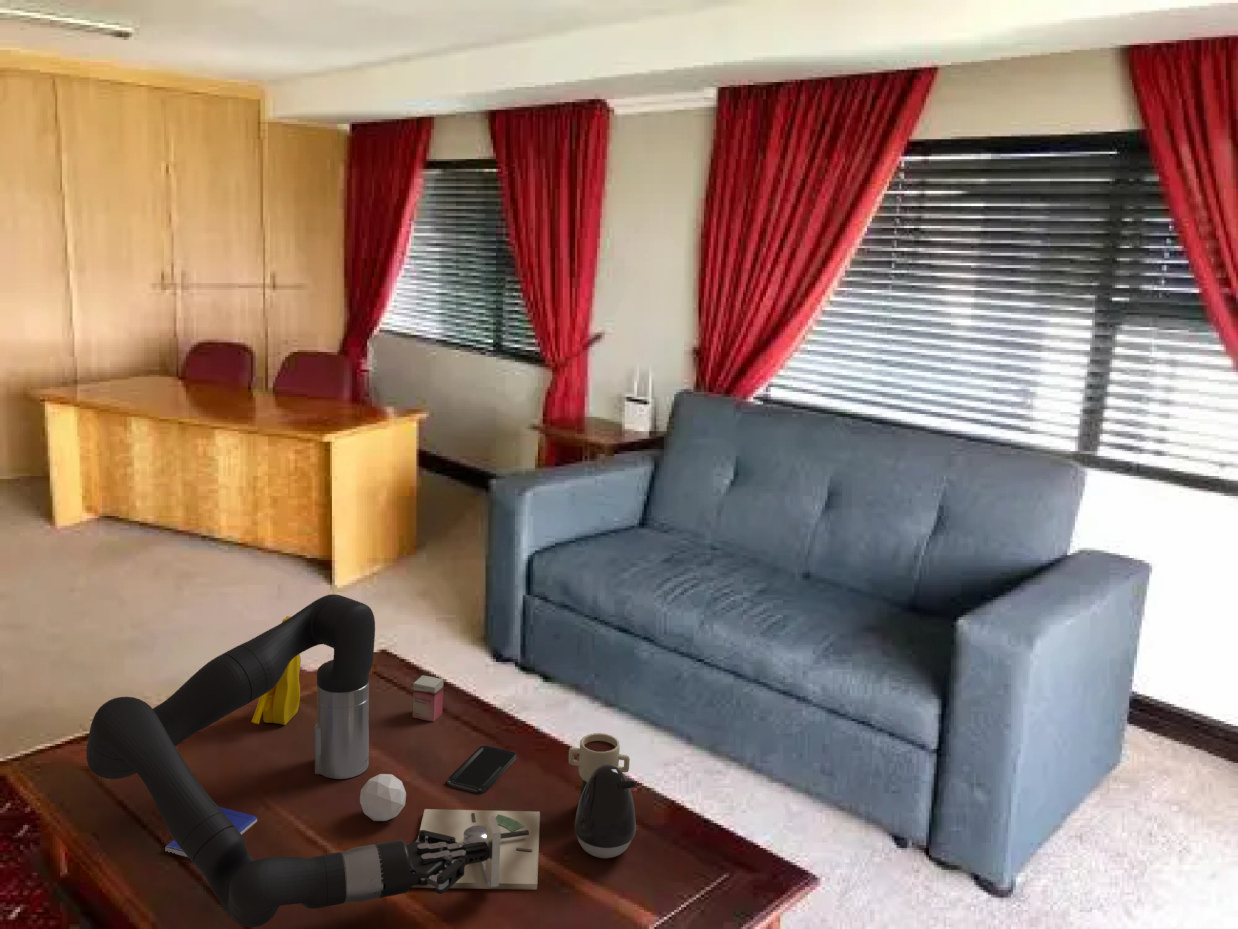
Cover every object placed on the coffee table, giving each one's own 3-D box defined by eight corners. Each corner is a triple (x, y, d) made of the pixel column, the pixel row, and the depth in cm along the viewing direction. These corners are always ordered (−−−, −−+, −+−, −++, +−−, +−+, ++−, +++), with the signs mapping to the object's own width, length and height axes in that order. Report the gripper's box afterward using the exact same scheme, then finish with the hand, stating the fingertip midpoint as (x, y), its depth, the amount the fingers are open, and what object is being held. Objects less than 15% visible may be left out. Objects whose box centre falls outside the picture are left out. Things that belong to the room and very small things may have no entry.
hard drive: (207, 857, 161) (257, 816, 173) (164, 845, 164) (216, 805, 175) (208, 866, 162) (257, 824, 173) (165, 854, 164) (216, 813, 176)
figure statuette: (282, 697, 217) (280, 599, 212) (317, 701, 216) (316, 603, 211) (242, 737, 200) (239, 632, 195) (281, 742, 199) (279, 636, 194)
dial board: (407, 887, 159) (408, 881, 158) (424, 814, 178) (424, 808, 178) (537, 889, 160) (537, 883, 160) (539, 816, 179) (539, 811, 179)
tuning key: (461, 836, 170) (462, 778, 168) (525, 827, 174) (527, 771, 171) (479, 897, 155) (481, 835, 153) (548, 886, 159) (551, 825, 156)
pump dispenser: (614, 876, 164) (619, 791, 161) (561, 852, 170) (565, 769, 166) (646, 845, 173) (652, 764, 169) (595, 824, 178) (599, 745, 175)
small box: (411, 718, 211) (412, 683, 209) (421, 709, 215) (422, 674, 214) (434, 722, 210) (434, 687, 208) (443, 713, 214) (444, 678, 212)
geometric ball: (392, 835, 176) (403, 816, 171) (348, 819, 175) (358, 800, 170) (406, 795, 182) (417, 775, 176) (363, 779, 181) (373, 759, 175)
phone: (445, 781, 187) (482, 744, 201) (444, 787, 188) (482, 749, 201) (483, 791, 185) (519, 753, 199) (483, 797, 185) (518, 758, 199)
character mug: (629, 802, 186) (633, 737, 183) (622, 824, 179) (627, 757, 176) (570, 793, 187) (573, 729, 184) (561, 815, 180) (565, 748, 177)
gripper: (364, 866, 157) (474, 846, 164) (382, 923, 145) (499, 899, 152) (366, 823, 155) (477, 805, 162) (384, 877, 143) (502, 855, 150)
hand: (487, 850), depth 157 cm, fingers closed
